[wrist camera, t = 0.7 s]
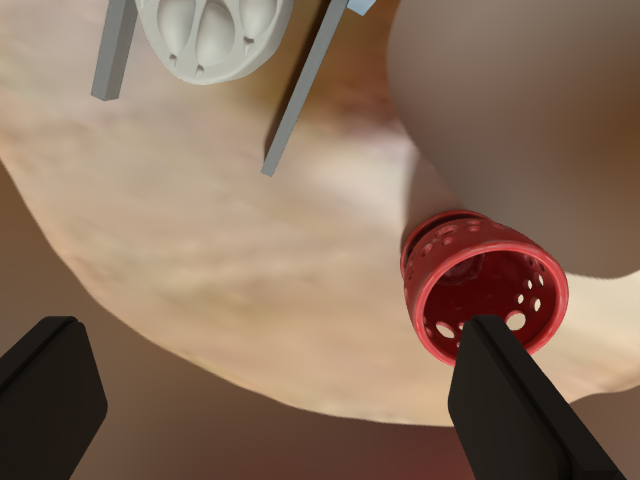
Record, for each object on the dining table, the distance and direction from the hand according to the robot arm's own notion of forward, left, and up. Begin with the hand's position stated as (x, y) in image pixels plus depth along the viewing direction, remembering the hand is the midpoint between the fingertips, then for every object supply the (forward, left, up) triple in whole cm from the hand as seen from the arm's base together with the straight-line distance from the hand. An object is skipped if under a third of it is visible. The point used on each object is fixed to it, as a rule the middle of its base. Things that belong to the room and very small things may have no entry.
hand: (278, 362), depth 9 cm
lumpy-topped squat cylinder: (-7, -11, -31) cm, 34 cm away
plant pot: (+5, +19, -31) cm, 37 cm away
